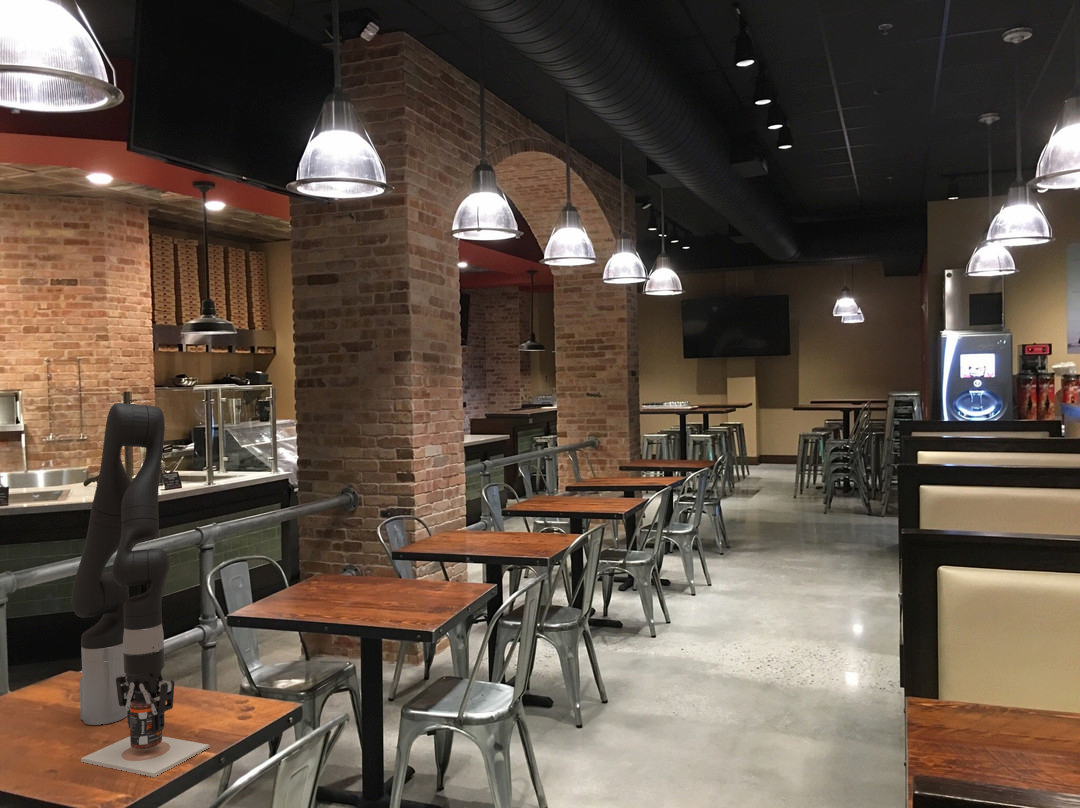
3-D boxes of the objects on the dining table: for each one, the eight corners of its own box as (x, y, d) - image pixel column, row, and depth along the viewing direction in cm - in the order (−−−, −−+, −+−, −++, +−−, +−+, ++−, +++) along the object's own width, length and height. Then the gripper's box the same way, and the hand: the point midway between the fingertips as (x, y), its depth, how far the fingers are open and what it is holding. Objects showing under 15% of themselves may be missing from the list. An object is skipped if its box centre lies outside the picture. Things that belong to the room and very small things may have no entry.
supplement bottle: (150, 751, 167) (148, 694, 167) (123, 749, 169) (122, 693, 169) (168, 739, 173) (167, 684, 173) (143, 737, 175) (141, 683, 174)
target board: (81, 762, 168) (81, 757, 168) (139, 735, 181) (138, 731, 181) (154, 777, 161) (154, 772, 161) (209, 748, 173) (209, 744, 173)
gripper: (102, 649, 170) (105, 731, 170) (155, 656, 165) (157, 741, 165) (133, 639, 177) (135, 718, 177) (184, 645, 172) (187, 727, 172)
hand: (146, 729), depth 171 cm, fingers closed on supplement bottle, 6 cm apart
